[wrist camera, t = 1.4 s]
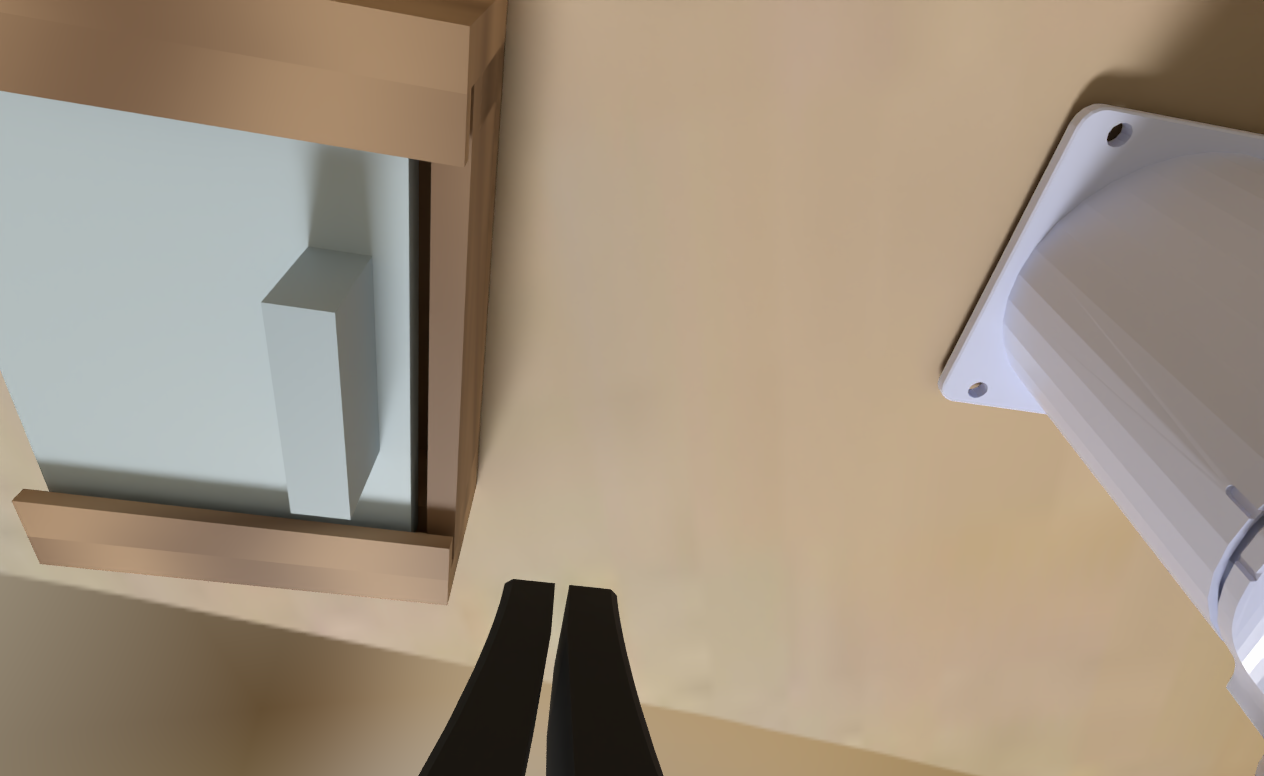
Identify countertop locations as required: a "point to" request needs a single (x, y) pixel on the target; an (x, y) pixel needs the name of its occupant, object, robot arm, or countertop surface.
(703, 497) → the countertop surface
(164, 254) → the lid
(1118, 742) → the countertop surface
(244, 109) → the box
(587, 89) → the countertop surface
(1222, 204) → the robot arm
